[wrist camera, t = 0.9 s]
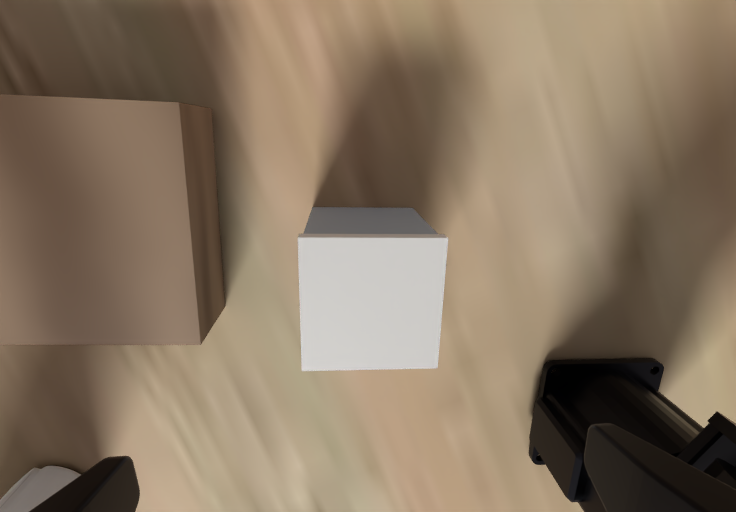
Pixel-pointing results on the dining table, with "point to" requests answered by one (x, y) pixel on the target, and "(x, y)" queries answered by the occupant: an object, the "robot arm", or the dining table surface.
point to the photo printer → (36, 488)
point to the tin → (370, 289)
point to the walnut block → (107, 222)
